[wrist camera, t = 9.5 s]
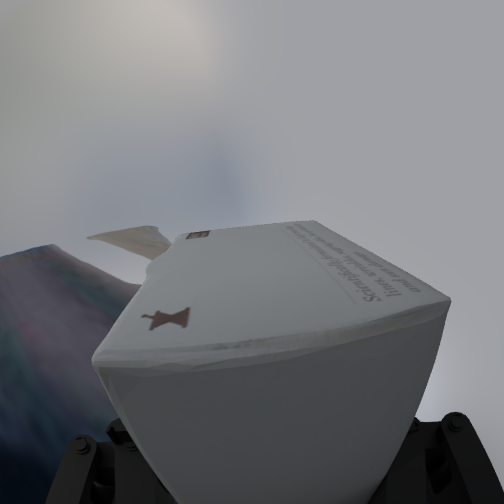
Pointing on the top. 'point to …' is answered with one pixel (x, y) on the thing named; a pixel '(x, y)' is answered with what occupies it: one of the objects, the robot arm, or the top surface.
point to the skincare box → (271, 365)
